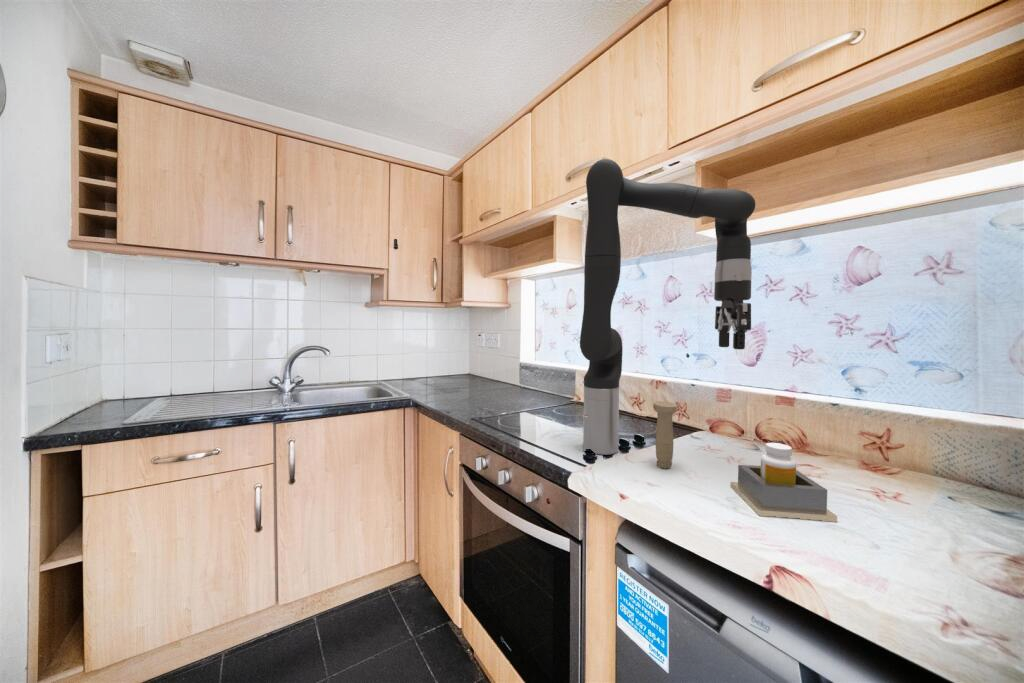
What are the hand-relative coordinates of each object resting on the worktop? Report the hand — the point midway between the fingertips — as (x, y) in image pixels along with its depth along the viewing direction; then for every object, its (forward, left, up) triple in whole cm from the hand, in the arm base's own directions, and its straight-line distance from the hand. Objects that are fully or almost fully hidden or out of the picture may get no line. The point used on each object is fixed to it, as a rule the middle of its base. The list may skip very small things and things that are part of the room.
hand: (731, 348), depth 87 cm
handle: (-16, -5, -28) cm, 33 cm away
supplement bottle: (+1, -20, -27) cm, 34 cm away
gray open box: (+1, -20, -28) cm, 34 cm away
